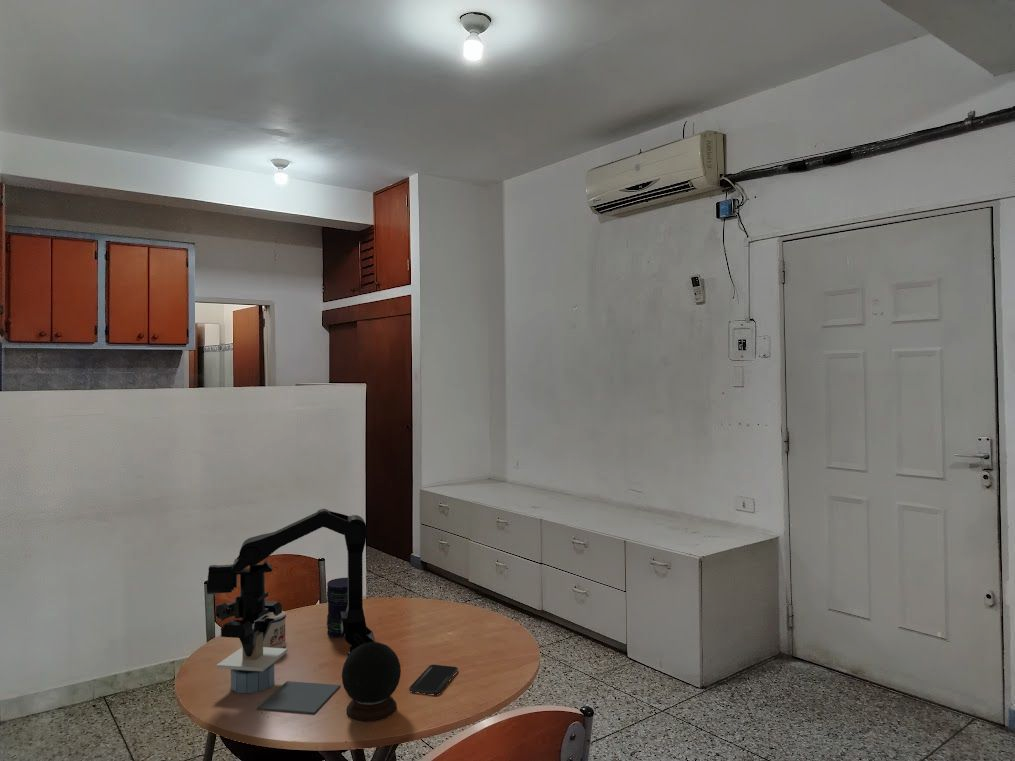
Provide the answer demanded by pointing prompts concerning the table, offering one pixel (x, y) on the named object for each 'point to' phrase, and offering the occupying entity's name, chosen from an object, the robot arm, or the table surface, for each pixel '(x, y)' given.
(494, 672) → the table surface
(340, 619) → the storage jar
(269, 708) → the mat
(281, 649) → the lid
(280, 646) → the teacup with lid
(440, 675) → the phone
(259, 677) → the bowl
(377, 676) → the black ball on stand
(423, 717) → the table surface
